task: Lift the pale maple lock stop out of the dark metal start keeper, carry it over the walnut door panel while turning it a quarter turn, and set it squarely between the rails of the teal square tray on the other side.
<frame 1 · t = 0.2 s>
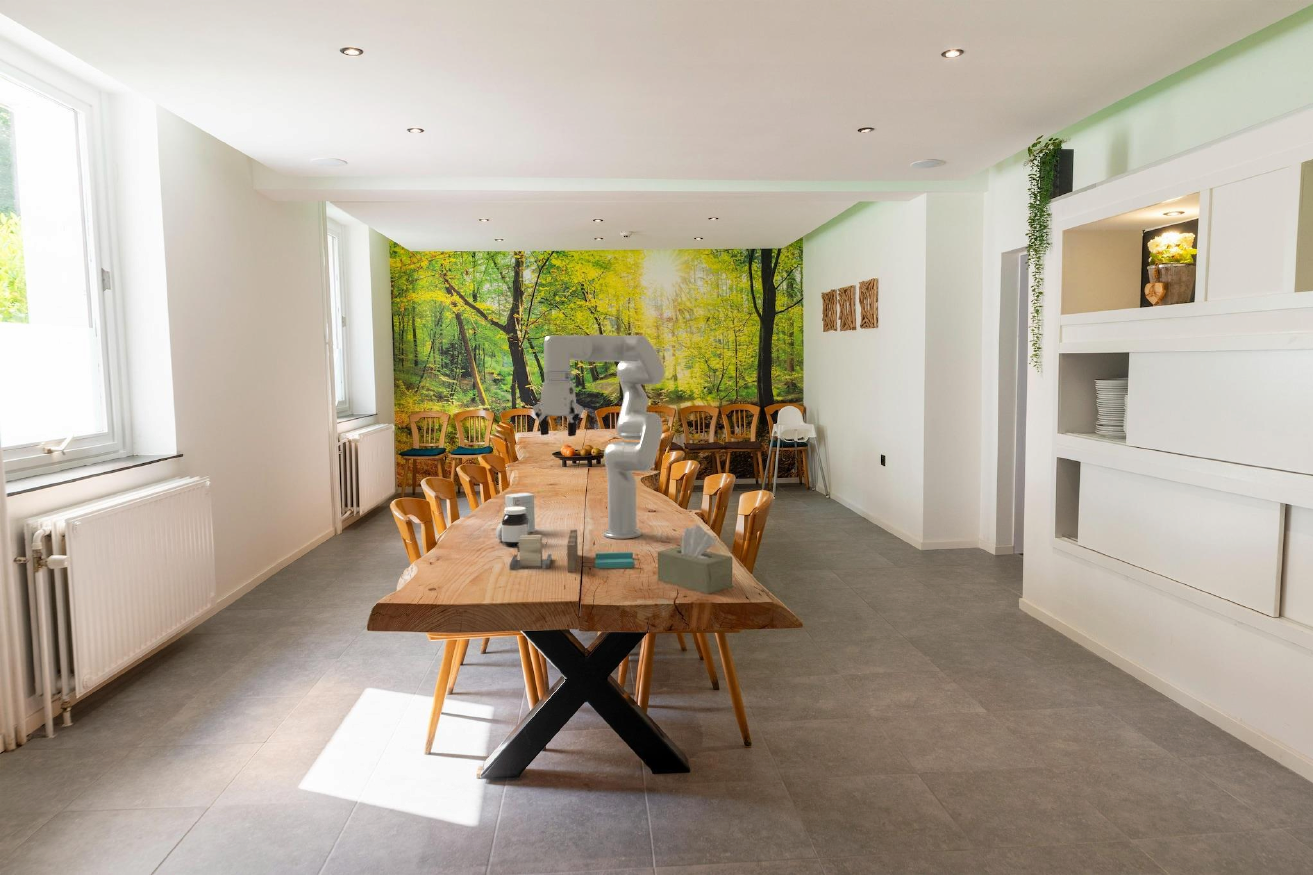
hand: (558, 435, 241), 37 cm above the table, tool pointing down, fingers open, 9 cm apart
spread jar: (511, 543, 264), on the table
lock stop: (531, 564, 235), resting on start keeper
tissue box: (694, 584, 215), on the table
door panel: (572, 564, 236), on the table
teal square tray: (614, 563, 237), on the table
small box: (520, 532, 281), on the table
start keeper: (531, 565, 235), on the table
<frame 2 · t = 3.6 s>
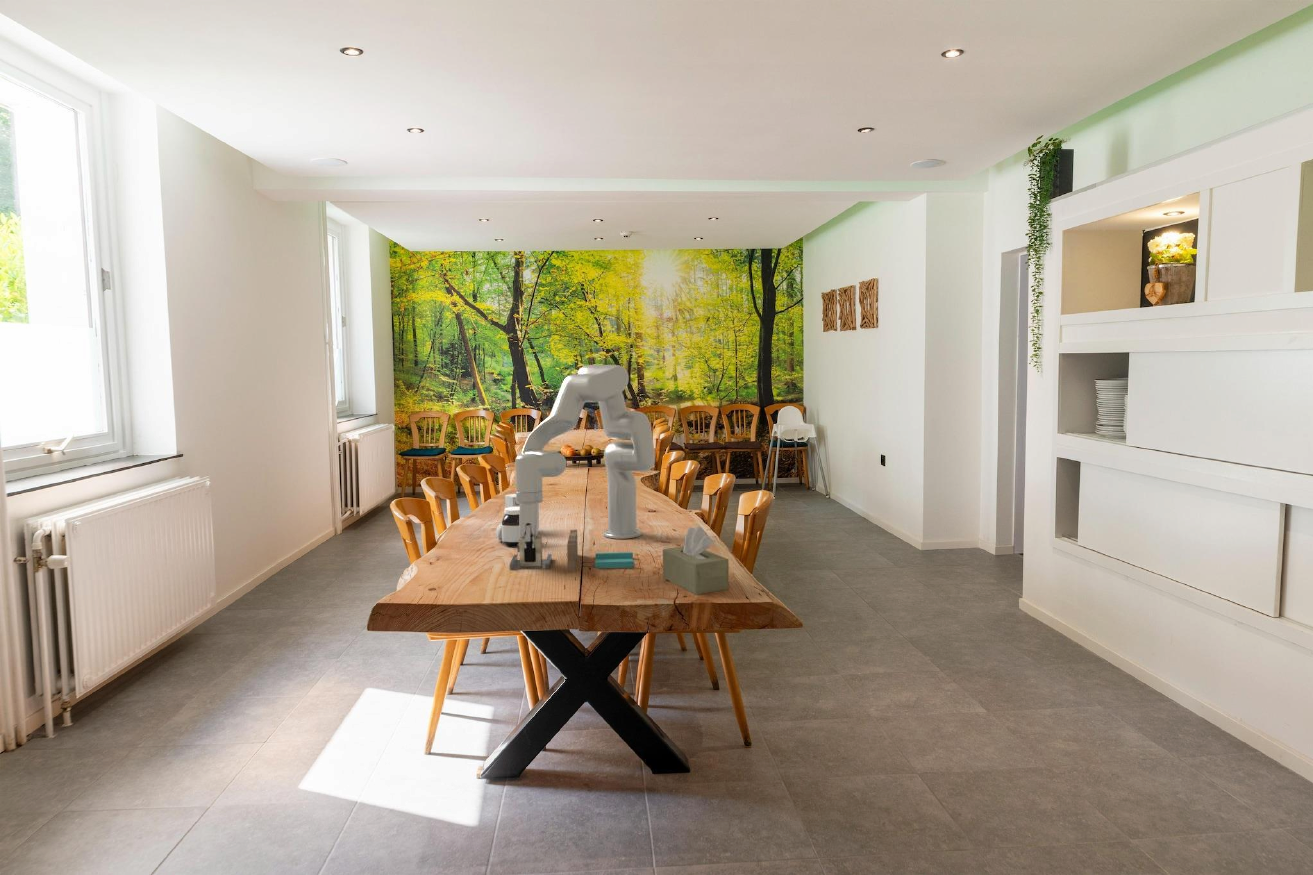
hand: (531, 558, 235), 2 cm above the table, tool pointing down, fingers closed on lock stop, 4 cm apart
lock stop: (531, 564, 235), resting on start keeper, touching gripper
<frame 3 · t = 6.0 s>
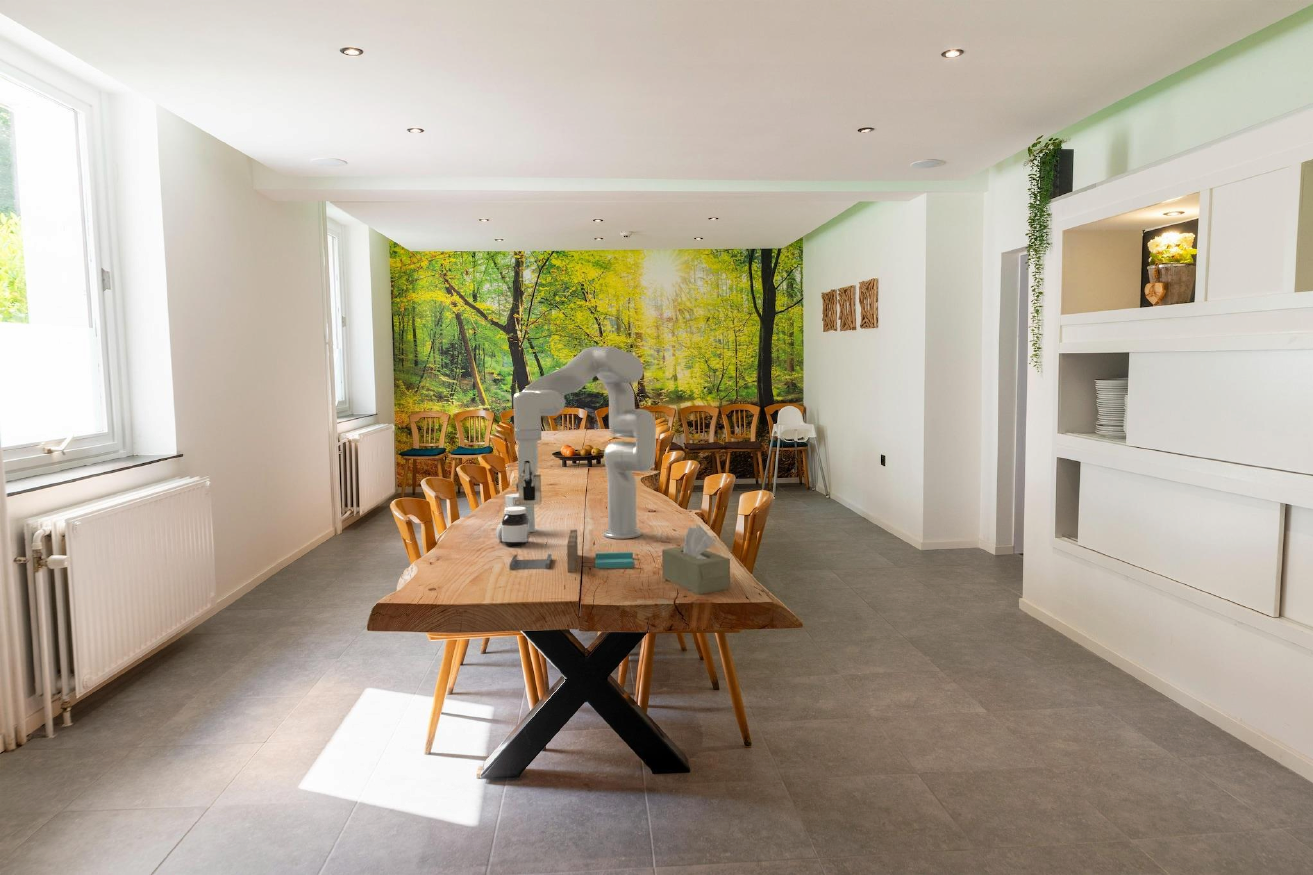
hand: (530, 497, 234), 20 cm above the table, tool pointing down, fingers closed on lock stop, 4 cm apart
lock stop: (530, 503, 234), point 18 cm above the table, touching gripper
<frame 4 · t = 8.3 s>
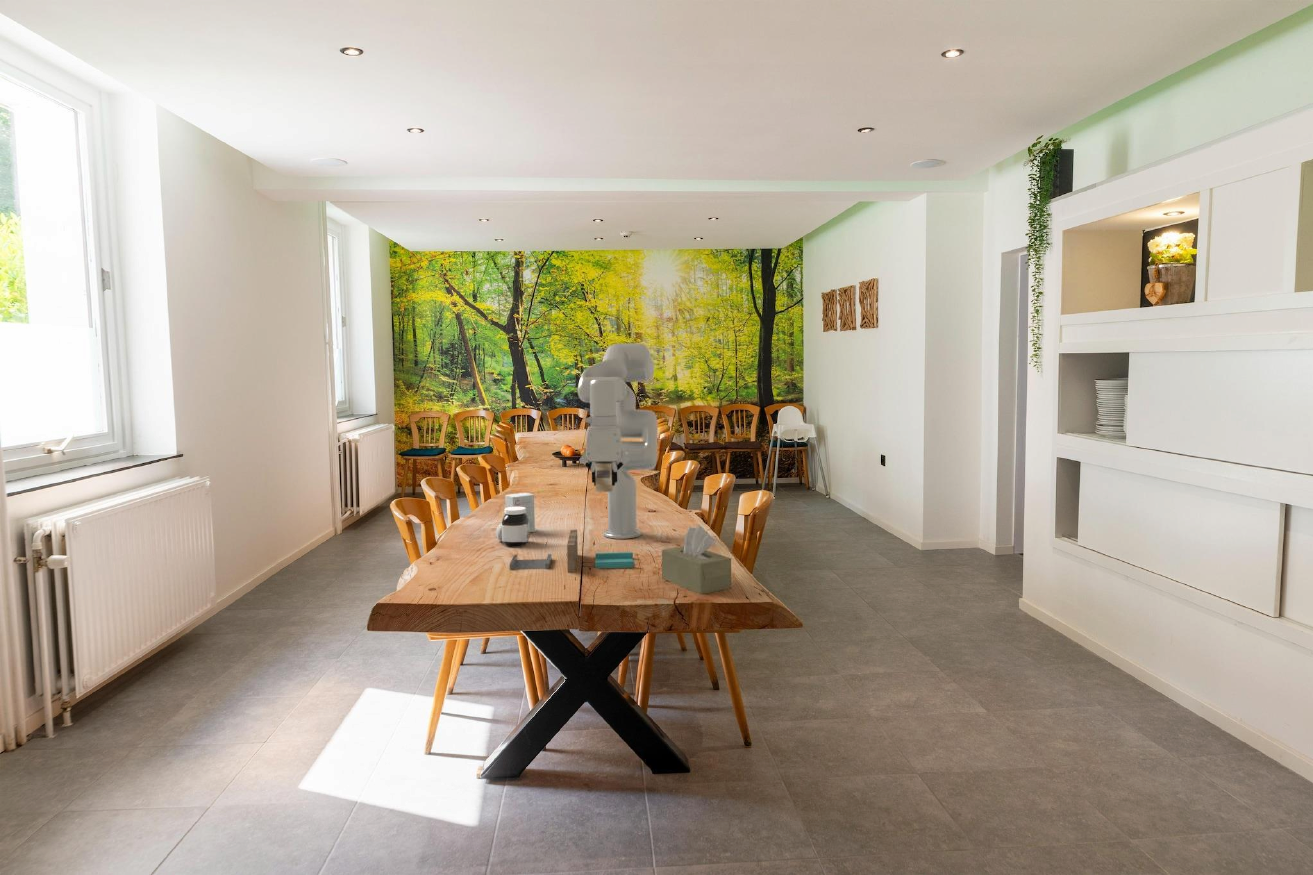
hand: (604, 484, 234), 23 cm above the table, tool pointing down, fingers closed on lock stop, 4 cm apart
lock stop: (604, 489, 234), point 22 cm above the table, touching gripper
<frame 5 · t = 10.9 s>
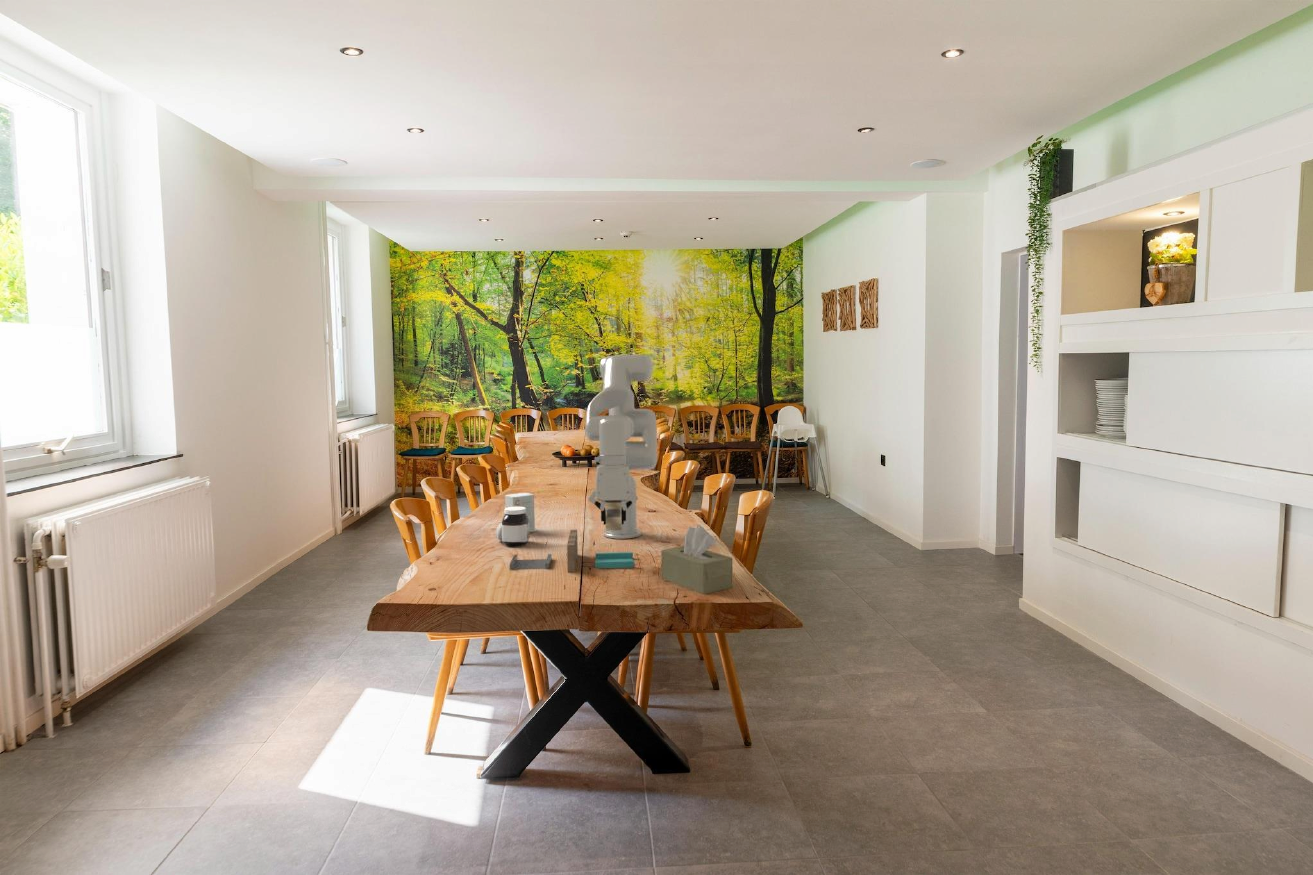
hand: (613, 522, 235), 12 cm above the table, tool pointing down, fingers closed on lock stop, 4 cm apart
lock stop: (613, 528, 235), point 10 cm above the table, touching gripper
everything else where it was.
when the fingers open (3 cm above the table, at t = 13.4 s): lock stop stays where it is, resting on teal square tray.
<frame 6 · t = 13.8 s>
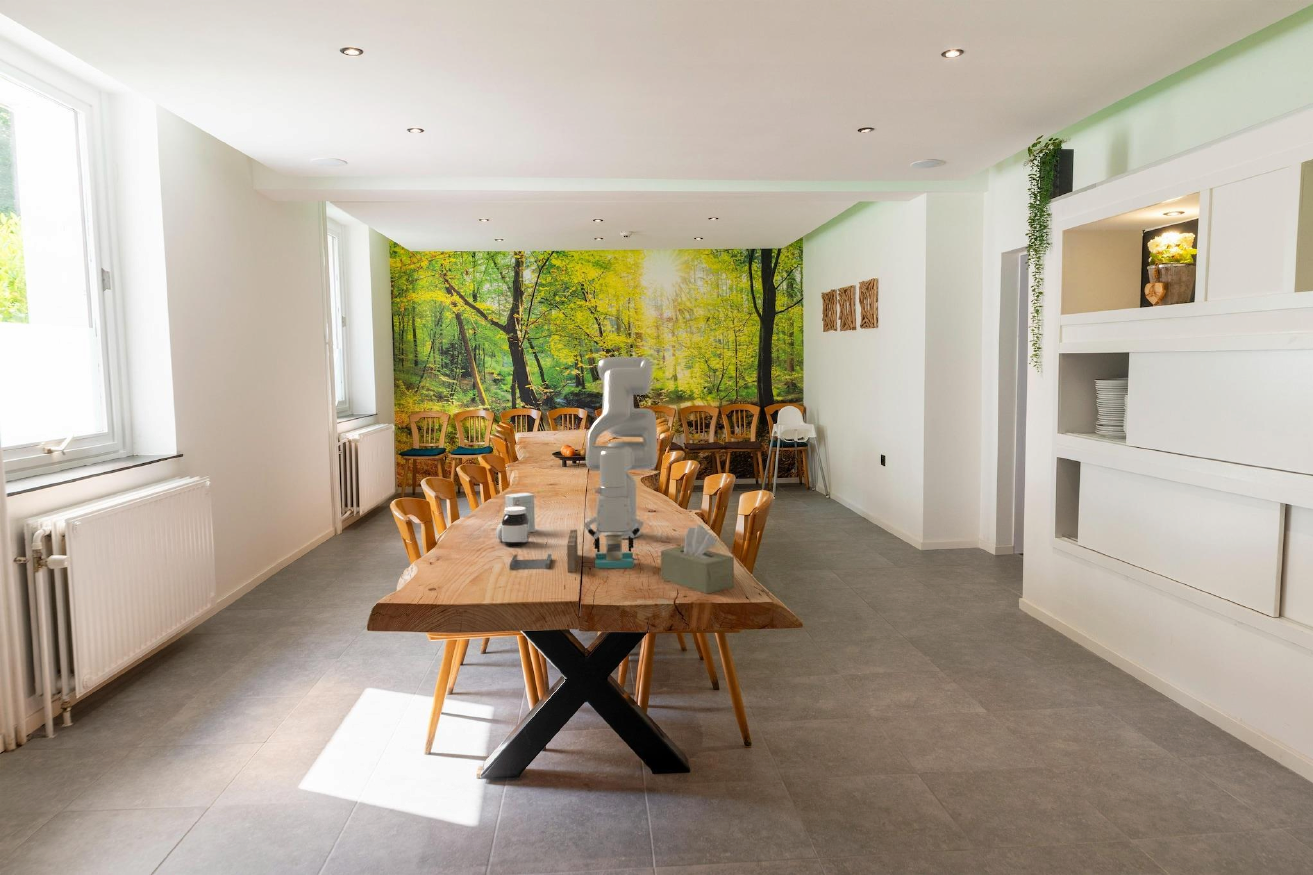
hand: (614, 550, 236), 4 cm above the table, tool pointing down, fingers open, 8 cm apart
lock stop: (614, 562, 237), resting on teal square tray
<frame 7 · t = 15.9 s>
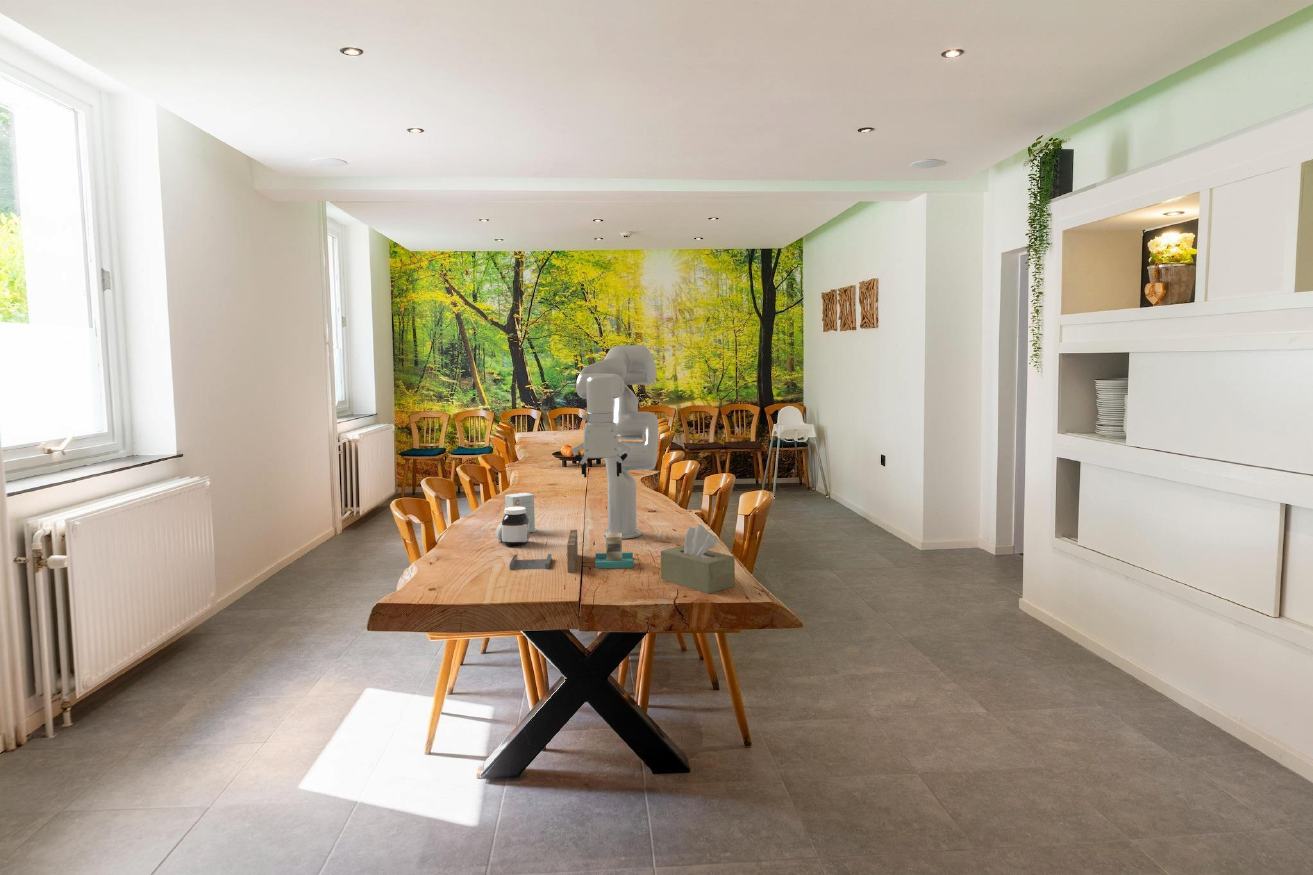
hand: (601, 476, 239), 25 cm above the table, tool pointing down, fingers open, 9 cm apart
nothing on the table moved.
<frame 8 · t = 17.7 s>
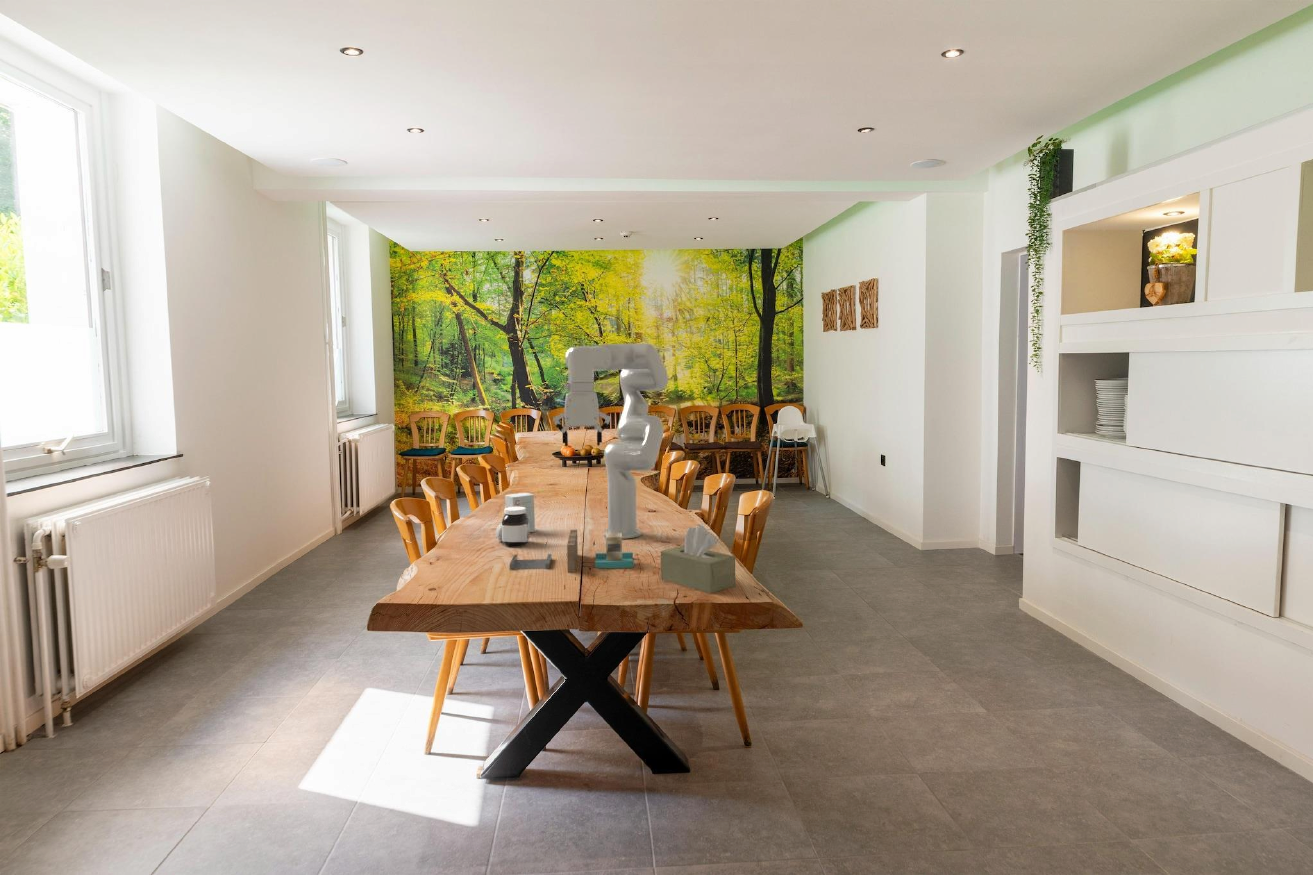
hand: (582, 445, 245), 33 cm above the table, tool pointing down, fingers open, 9 cm apart
nothing on the table moved.
at the end: lock stop 0.1 cm off-centre on the teal square tray, point 0.3 cm above the teal square tray's base; lock stop tilted 0°; the gripper is holding nothing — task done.
